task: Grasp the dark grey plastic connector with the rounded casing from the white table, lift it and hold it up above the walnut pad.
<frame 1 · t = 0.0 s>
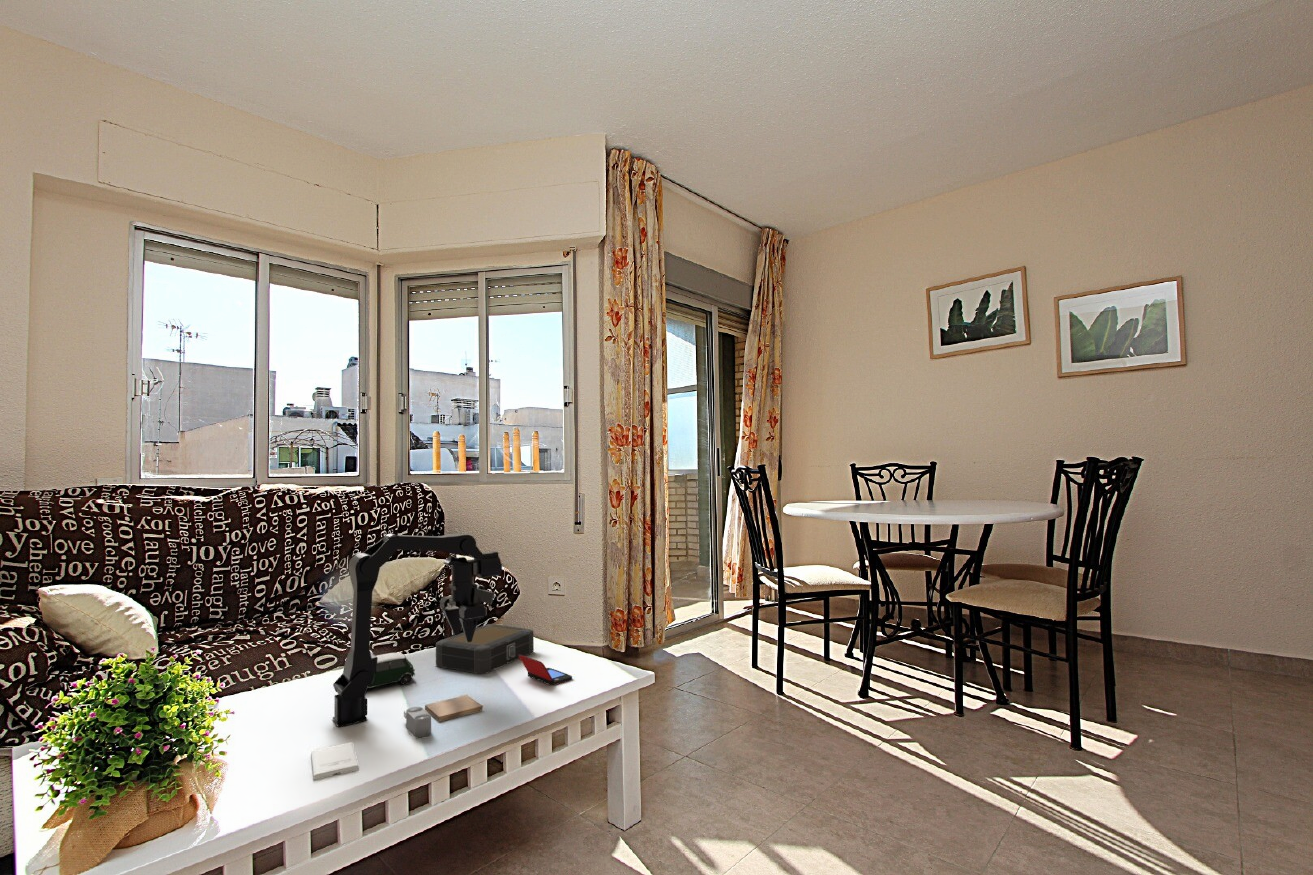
hand: (462, 638, 177), 15 cm above the table, tool pointing down, fingers open, 9 cm apart
cash box: (487, 660, 207), on the table
miniature car: (380, 686, 185), on the table
handheld game console: (545, 680, 187), on the table
connector: (418, 730, 153), on the table
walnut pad: (453, 710, 165), on the table
external hard drive: (334, 765, 137), on the table
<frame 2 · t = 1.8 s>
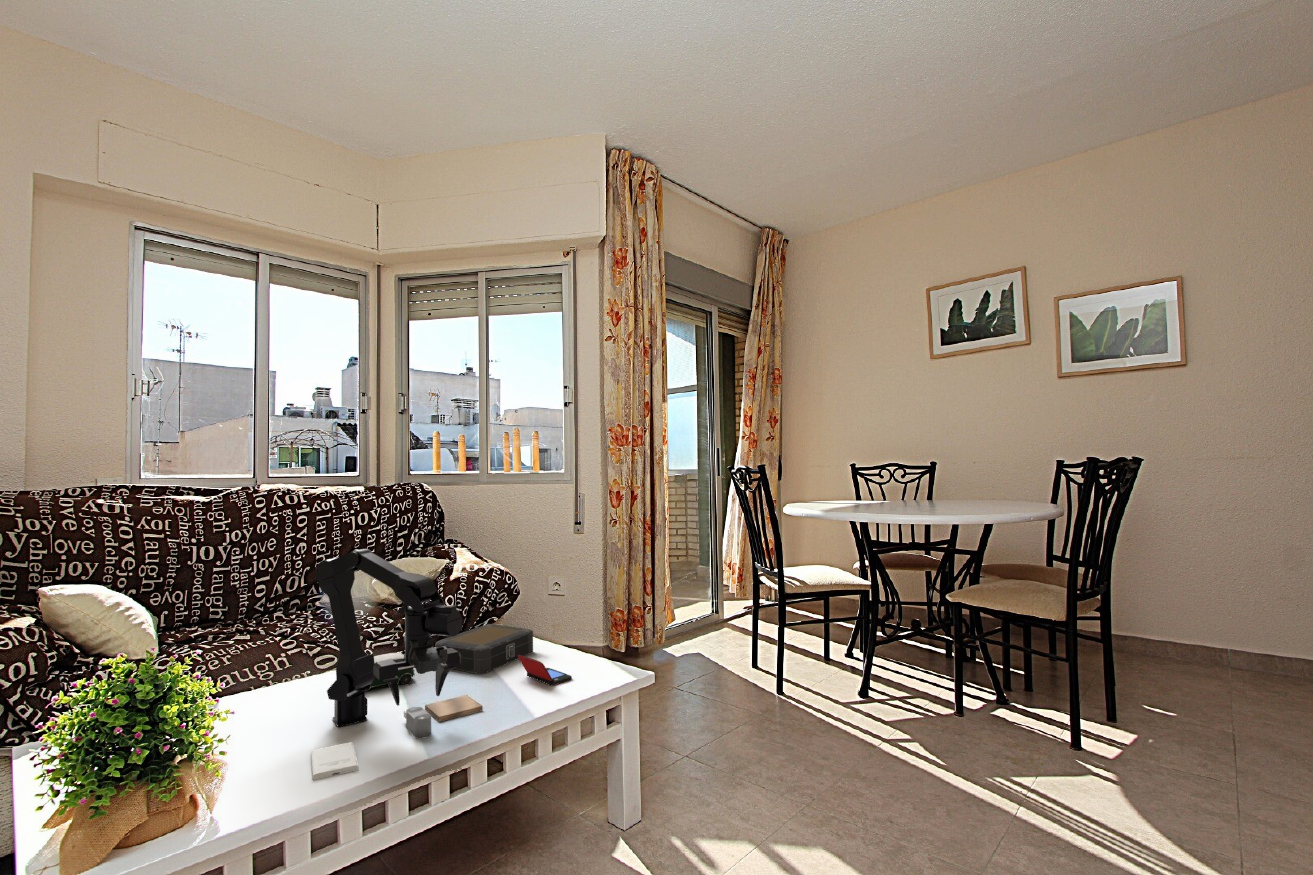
hand: (418, 700, 153), 7 cm above the table, tool pointing down, fingers open, 9 cm apart
nothing on the table moved.
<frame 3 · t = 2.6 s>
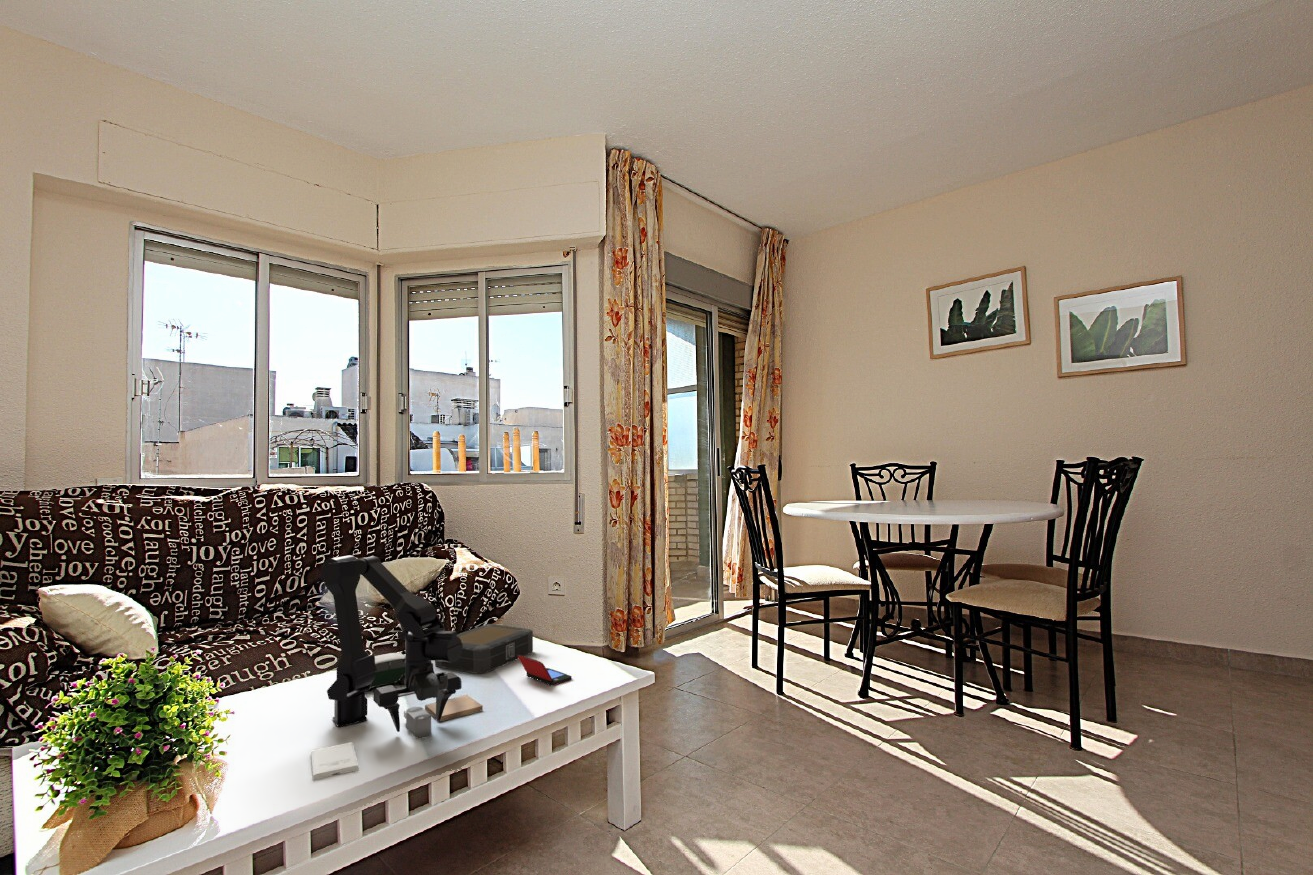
hand: (418, 726, 153), 1 cm above the table, tool pointing down, fingers open, 9 cm apart
nothing on the table moved.
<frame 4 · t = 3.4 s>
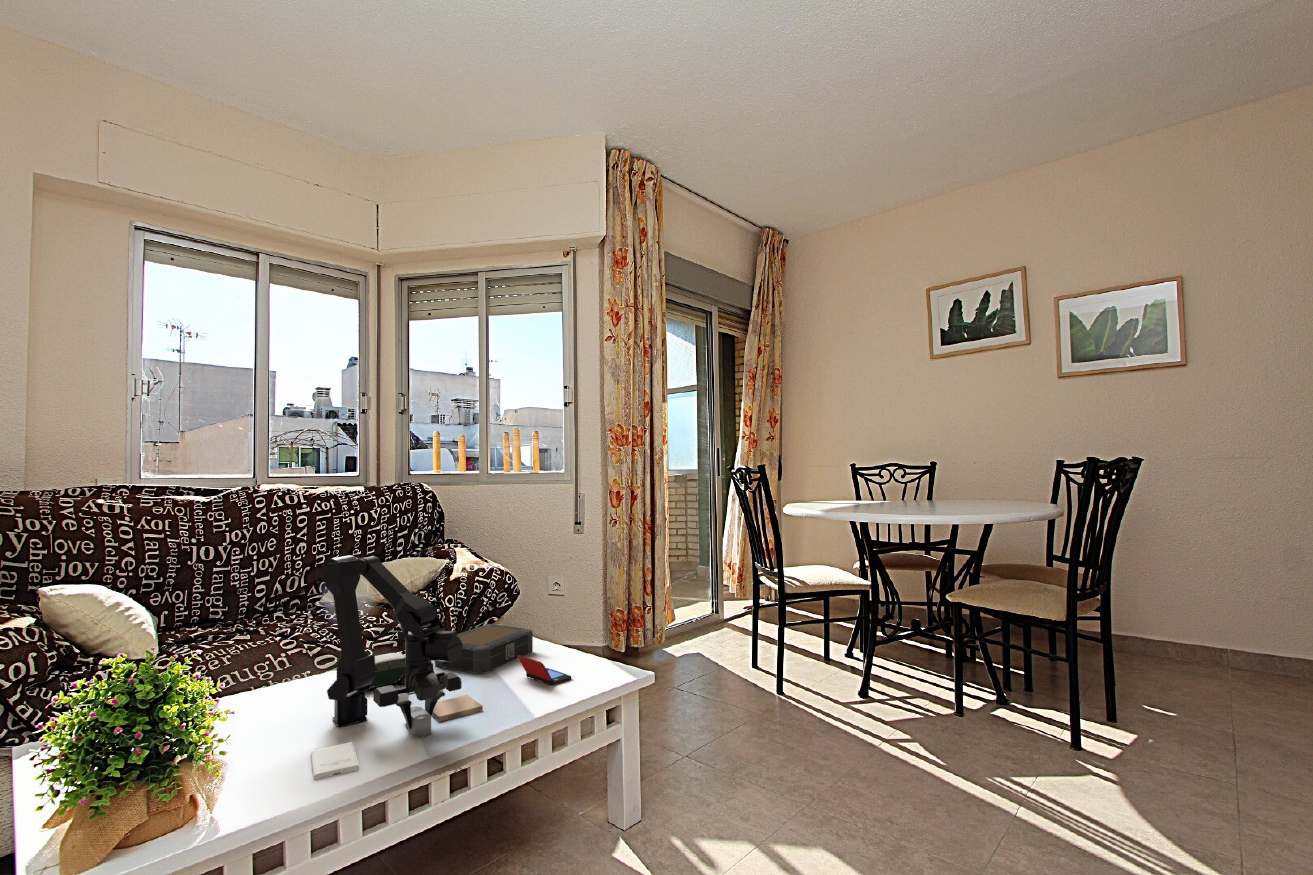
hand: (418, 726, 153), 1 cm above the table, tool pointing down, fingers closed on connector, 4 cm apart
connector: (418, 730, 153), on the table, touching gripper
everything else where it was.
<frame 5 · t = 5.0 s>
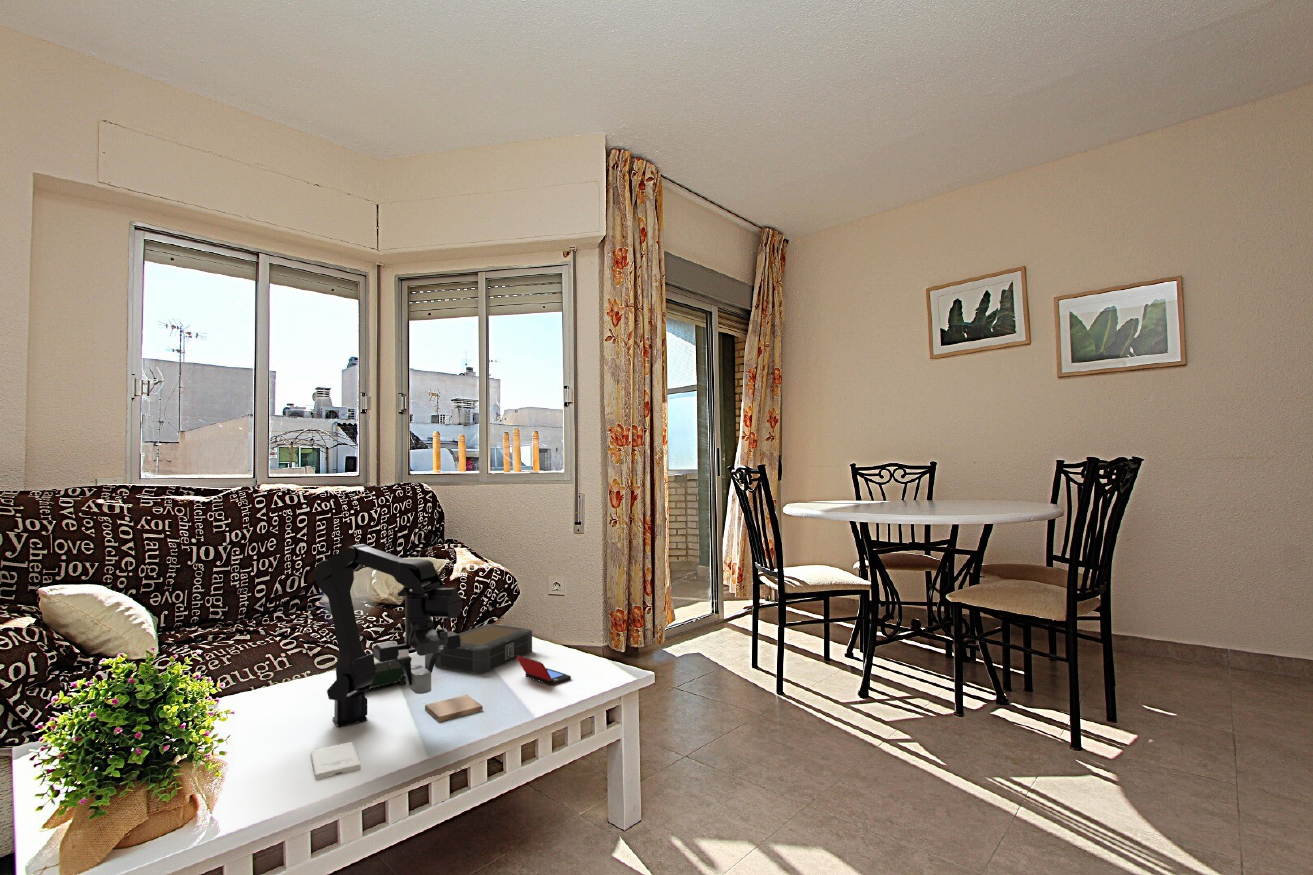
hand: (418, 682, 153), 11 cm above the table, tool pointing down, fingers closed on connector, 4 cm apart
connector: (418, 687, 153), point 10 cm above the table, touching gripper
everything else where it was.
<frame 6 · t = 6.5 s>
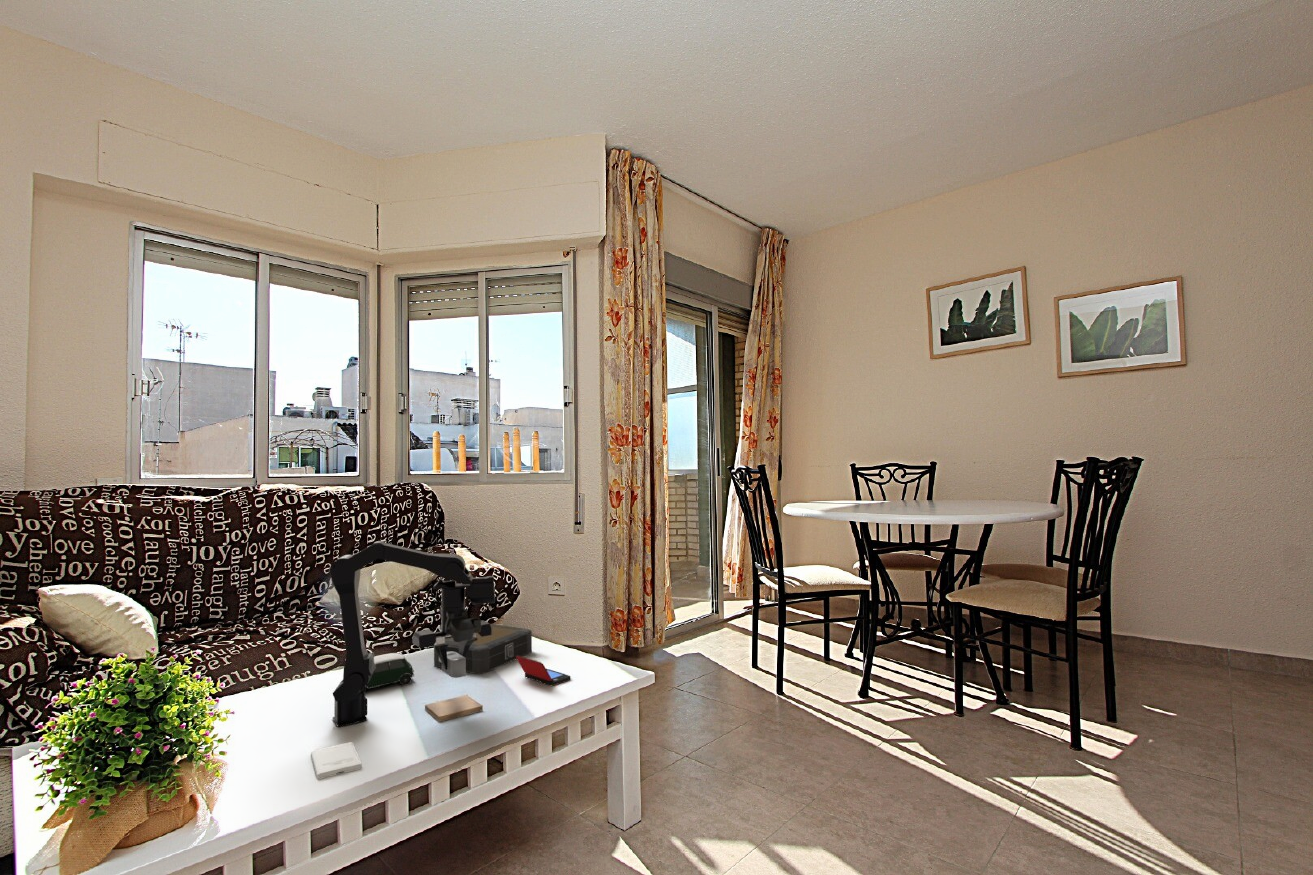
hand: (453, 667, 165), 10 cm above the table, tool pointing down, fingers closed on connector, 4 cm apart
connector: (453, 672, 165), point 9 cm above the table, touching gripper
everything else where it was.
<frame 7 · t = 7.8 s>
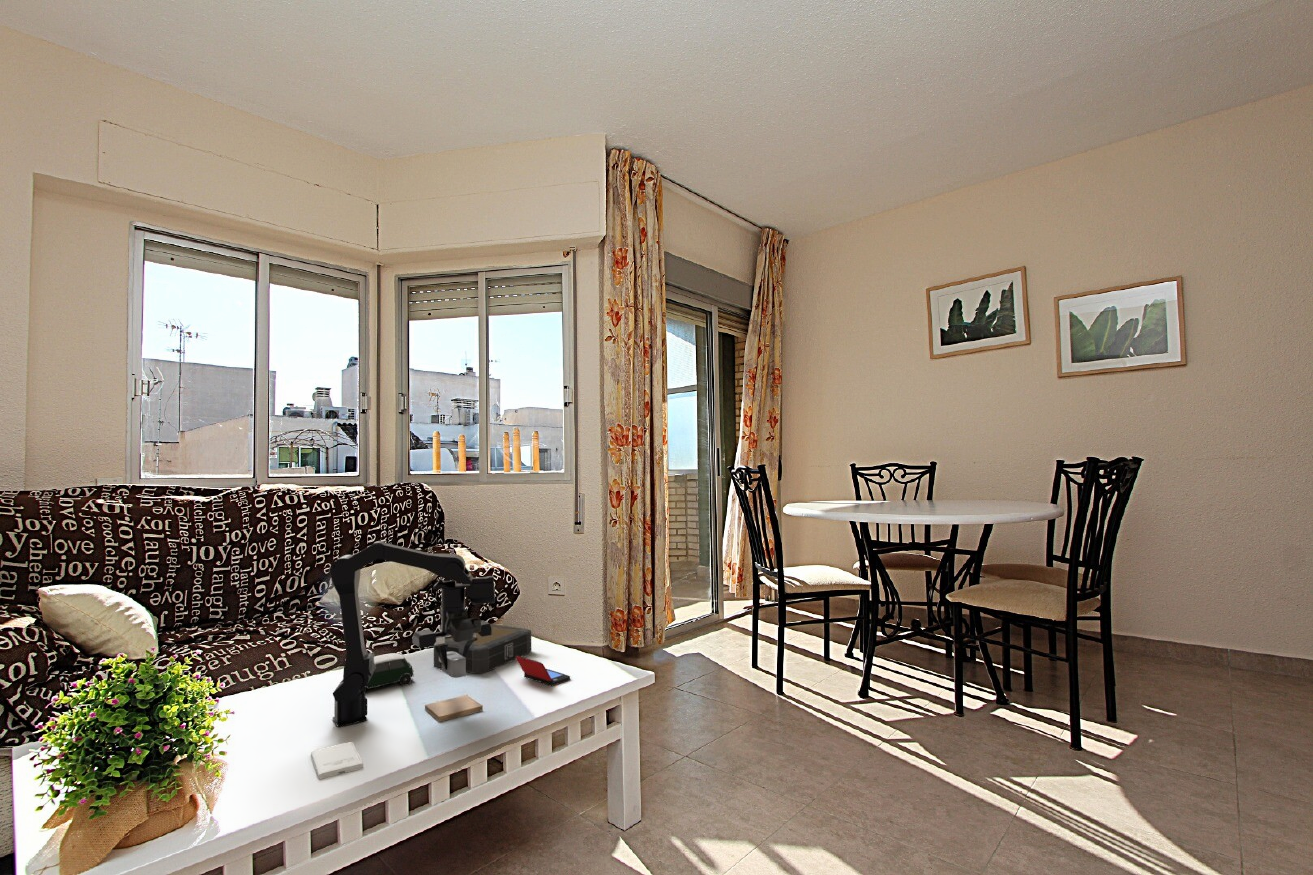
hand: (453, 667, 165), 10 cm above the table, tool pointing down, fingers closed on connector, 4 cm apart
connector: (453, 672, 165), point 9 cm above the table, touching gripper
everything else where it was.
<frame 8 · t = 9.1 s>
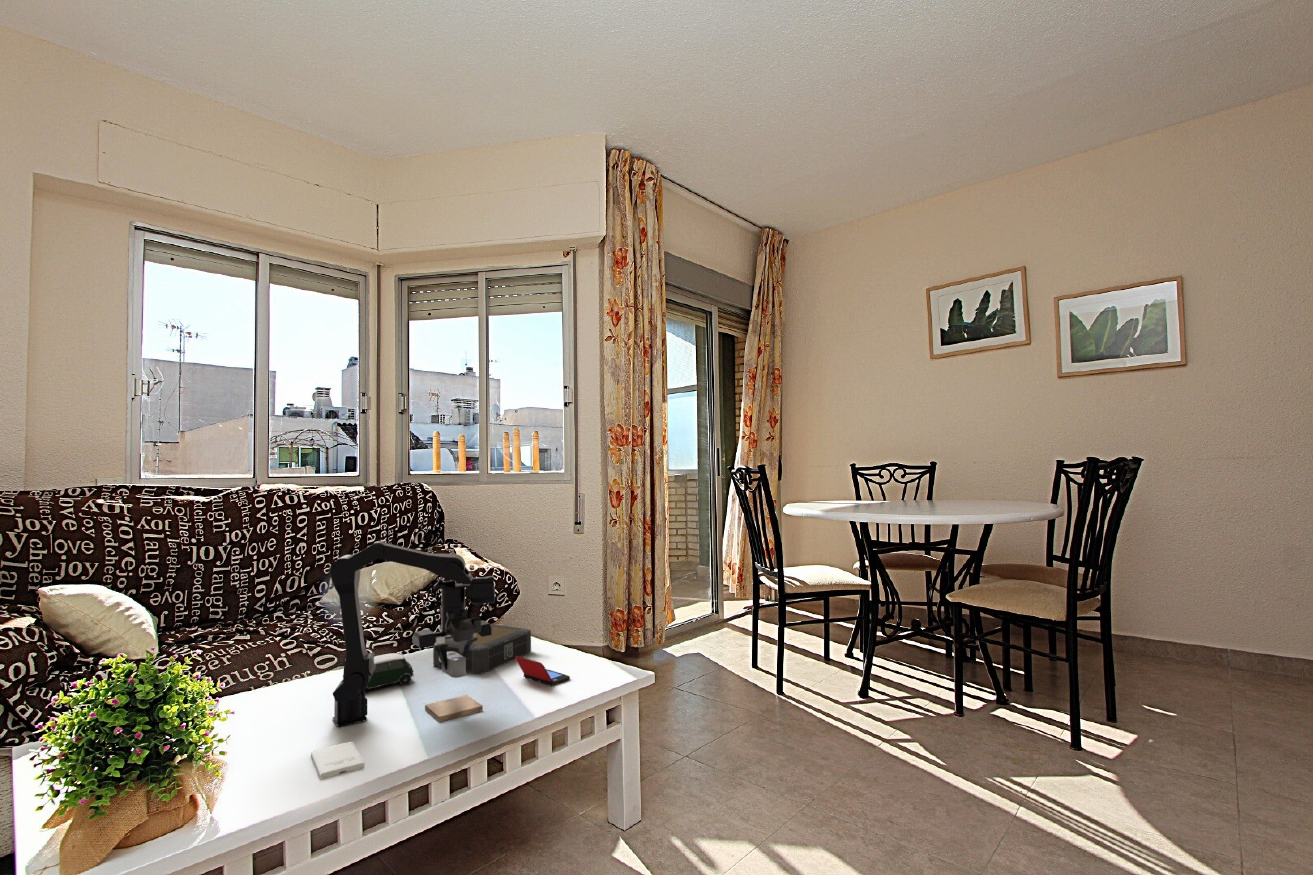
hand: (453, 667, 165), 10 cm above the table, tool pointing down, fingers closed on connector, 4 cm apart
connector: (453, 672, 165), point 9 cm above the table, touching gripper
everything else where it was.
at the end: the gripper is holding connector; connector inside the target area (0.1 cm from its centre), point 9.4 cm above the table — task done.
